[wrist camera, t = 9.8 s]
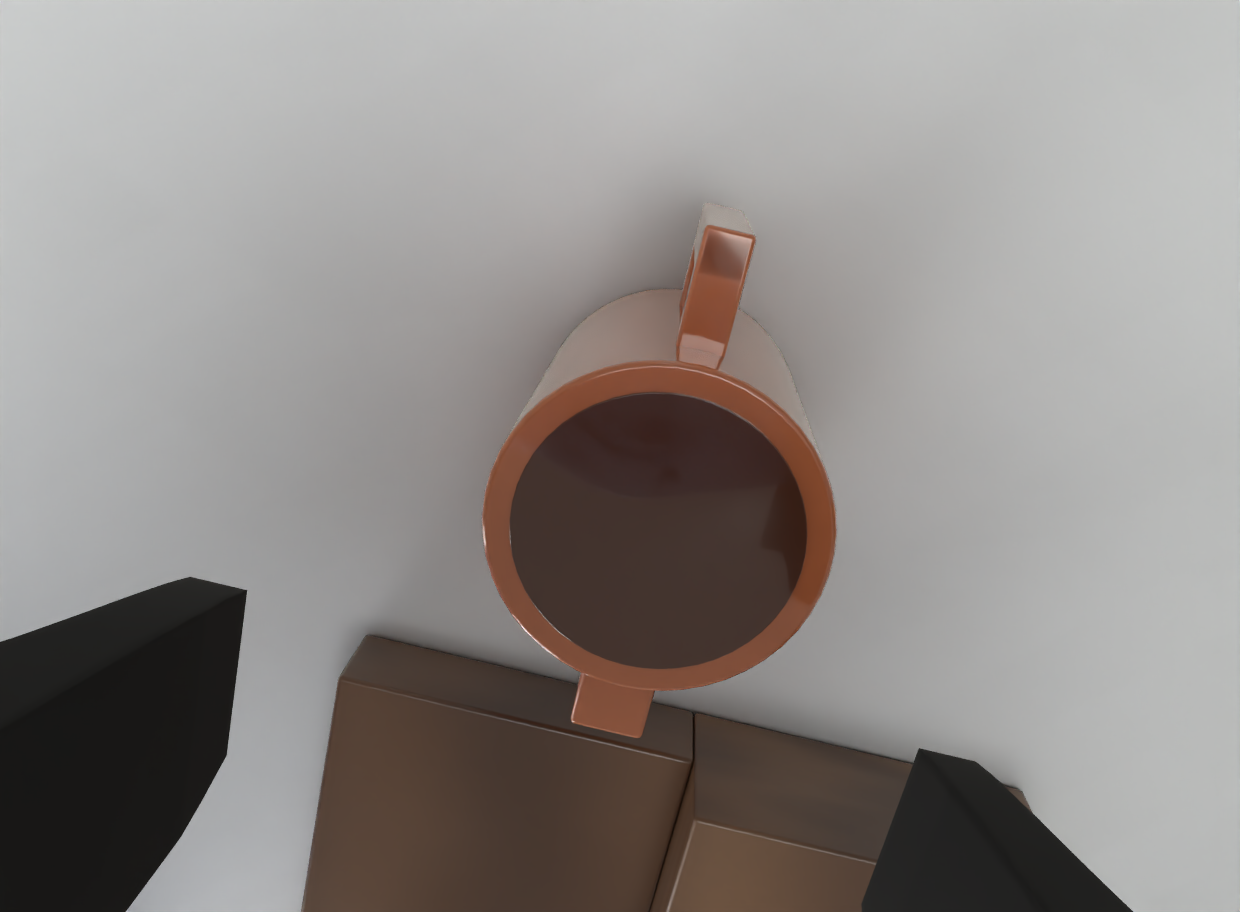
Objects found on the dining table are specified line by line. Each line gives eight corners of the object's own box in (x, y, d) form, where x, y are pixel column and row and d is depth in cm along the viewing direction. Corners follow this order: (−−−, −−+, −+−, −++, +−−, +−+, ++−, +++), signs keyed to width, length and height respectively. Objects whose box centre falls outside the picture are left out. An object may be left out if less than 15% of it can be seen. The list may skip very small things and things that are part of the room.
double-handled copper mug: (511, 542, 21) (441, 703, 15) (590, 168, 18) (542, 192, 13) (746, 598, 21) (765, 781, 15) (854, 232, 18) (925, 284, 13)
